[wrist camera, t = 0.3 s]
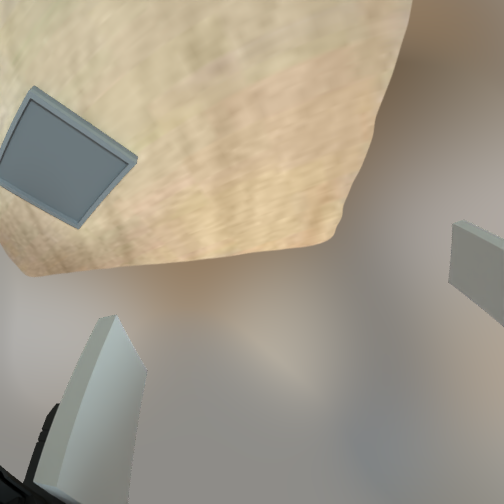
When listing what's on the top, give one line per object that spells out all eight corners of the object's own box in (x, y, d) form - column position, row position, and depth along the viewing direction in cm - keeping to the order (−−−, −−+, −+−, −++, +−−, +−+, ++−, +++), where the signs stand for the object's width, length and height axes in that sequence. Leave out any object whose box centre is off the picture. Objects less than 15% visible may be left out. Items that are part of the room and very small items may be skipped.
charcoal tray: (-7, 171, 33) (-12, 178, 32) (34, 85, 26) (28, 90, 25) (80, 222, 47) (78, 229, 46) (137, 156, 40) (136, 163, 39)
